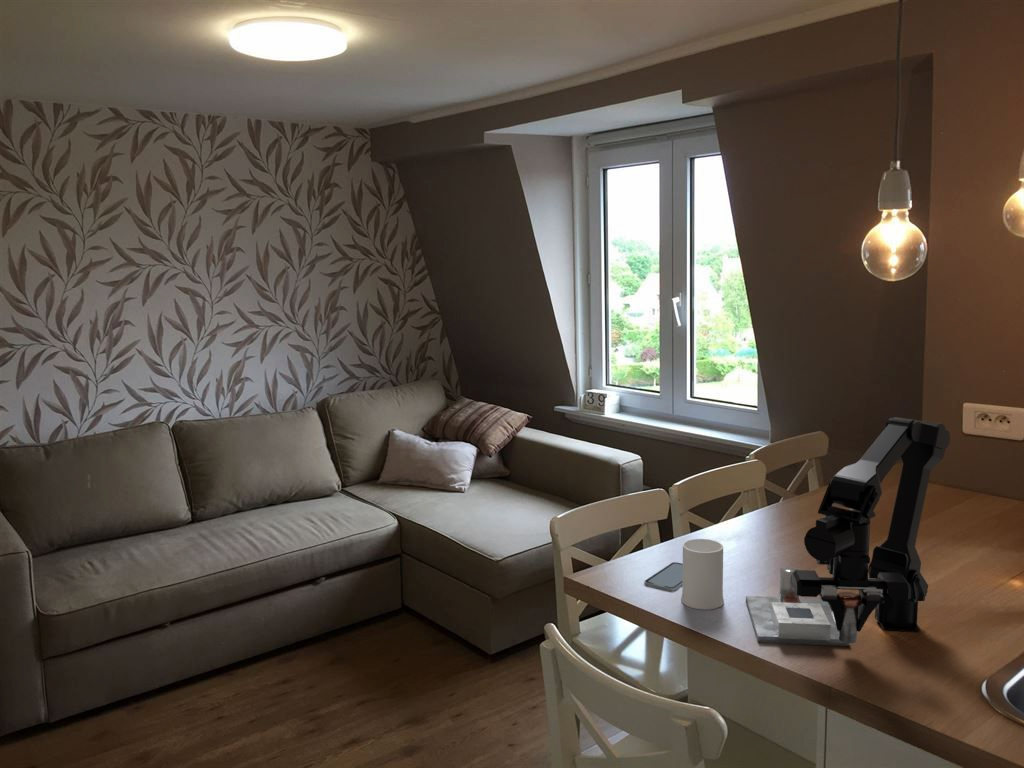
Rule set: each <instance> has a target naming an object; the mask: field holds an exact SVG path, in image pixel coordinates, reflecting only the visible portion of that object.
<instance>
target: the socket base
mask: <svg viewBox="0 0 1024 768" xmlns="http://www.w3.org/2000/svg"><path fill="white" fill-rule="evenodd" d="M779 570H780V571H779V574H780V575H779V577H780V578H779V596H759V595H758V596H755V595H753V596H752V595H746V596H745V604H746V607H747V610H748V614H749V617H750V620H751V623H752V627H753V630H754V634H755V637H756V640H758V641H757V643H761V642H765V643H766V642H767V643H768V642H769V643H768V644H786V643H788V644H789V643H791V644H792V645H813V646H814V645H816V646H817V645H818V646H819V645H820V646H840V647H842V646H843V647H849V646H850V643H845V642H842V641H840V640H839V631H837V629H836V626H835V622H834V619H833V616H832V613H831V609H830V606H829V604H828V602H825V601H822V599H821V597H820V598H818V597H800V596H798V595H797V594H796V592H795V590H794V587H793V585H792V574H793V572H794V571H795V570H800V569H799V568H797V567H794V566H782V567H781V568H780V569H779Z"/></svg>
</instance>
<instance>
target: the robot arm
mask: <svg viewBox="0 0 1024 768" xmlns="http://www.w3.org/2000/svg"><path fill="white" fill-rule="evenodd" d="M950 442H951V433H950V431H949V430H947V429H946V427H945V425H944V424H943V423H939V422H931V421H926V420H925V421H924V420H917V419H912V418H910V419H909V418H903V417H897V416H896V417H895V416H894V417H891V418H889V419H887V421H886V423H885V428H884V429H883V430H882V431H881V433H880V434H879V435H878V436H877V438H876V439H875V440H874V442H873V443H872V444H870V447H868V449H867V450H866V451H865V453H863V455H862V456H861V458H860V459H859V460H858V461H857V462H856V463H852V464H849V465H846V466H844V467H843V468H842V469H840V470H839V471H838V472H837V473H835V475H833V477H832V479H831V480H830V481H829V483H828V484H827V485H828V486H827V488H826V491H825V493H824V495H823V498H822V501H821V503H820V505H819V508H818V509H817V514H818V515H820V516H821V515H822V516H825V517H823V518H821V517H820V518H818V519H816V520H815V526H812V527H811V528H809V529H808V530H807V532H805V535H804V539H803V542H804V546H805V547H804V548H805V550H806V552H807V553H808V554H809V555H810V556H811V557H812V558H813V559H815V560H816V564H817V565H823V566H824V565H826V570H828V573H829V575H832V577H825V576H824V577H822V576H820V577H819V575H818V573H817V571H816V570H815V569H814V570H812V569H811V570H809V569H808V570H807V569H805V570H804V569H799V570H795V571H794V572H793V574H792V585H793V587H794V590H795V592H796V594H797V595H798V596H799V597H800V598H818V596H819V597H820V598H821V599H822V601H825V602H828V604H829V606H830V609H831V613H832V616H833V619H834V622H835V626H836V629H837V631H840V627H841V610H840V598H839V597H838V595H837V594H838V590H848V591H849V590H854V591H858V595H860V596H861V597H862V603H861V605H860V606H858V626H857V633H860V632H861V630H862V629H863V627H864V625H865V624H866V622H867V620H868V618H869V617H870V615H872V612H874V618H875V619H876V621H877V622H878V623H879V625H880V626H881V627H882V629H883V630H884V631H903V632H919V631H921V628H920V626H919V625H918V611H919V602H924V601H926V597H927V594H928V591H929V584H928V583H927V580H926V579H925V577H924V576H923V575H922V574H921V567H922V560H921V558H920V556H919V552H918V550H917V548H916V542H917V539H918V538H917V537H918V532H919V528H920V524H921V518H922V514H923V510H924V505H925V504H924V503H925V499H926V495H927V489H928V485H929V480H930V476H931V475H930V474H931V471H932V470H933V469H934V468H936V466H937V465H938V464H939V463H940V462H941V461H942V460H944V456H945V453H946V450H947V448H948V447H949V445H950ZM899 459H900V461H901V463H902V467H901V472H900V476H899V481H898V486H897V491H896V495H895V501H894V505H893V508H892V509H893V511H892V514H891V519H890V525H889V528H888V532H887V533H888V534H887V538H886V540H885V541H884V542H883V543H881V544H880V545H879V546H878V545H876V546H875V547H874V548H873V550H872V556H871V557H870V539H871V538H870V537H871V536H870V535H871V519H873V518H875V517H876V516H877V515H876V512H875V511H874V510H875V509H876V507H877V505H878V503H879V501H880V498H881V496H882V495H883V489H882V482H883V480H884V479H885V477H886V476H887V475H888V474H889V472H891V470H892V469H893V467H894V466H895V464H897V462H898V461H899ZM833 504H834V505H835V506H834V505H833ZM837 506H839V507H837ZM841 507H844V508H841ZM845 508H847V509H845Z"/></svg>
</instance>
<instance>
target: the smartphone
mask: <svg viewBox="0 0 1024 768" xmlns="http://www.w3.org/2000/svg"><path fill="white" fill-rule="evenodd" d="M643 582H644V585H645V586H647V587H649V588H655V589H659V590H663V591H665V592H676V591H677V590H679V589H680V588H681V587H682V585H683V562H678V561H677V562H676V561H674V562H671V563H669V564H668V565H666V566H665V567H663V568H662V569H660V570H659V571H657V572H656V573H653V574H652V575H651V576H650V577H648V578H647V579H645V580H644V581H643Z"/></svg>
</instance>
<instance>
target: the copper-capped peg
mask: <svg viewBox="0 0 1024 768" xmlns="http://www.w3.org/2000/svg"><path fill="white" fill-rule="evenodd" d="M837 595H838V597H839V598H840V610H841V627H840V631H839V640H840V641H842V642H845V643H849V644H855V643H857V641H858V631H857V626H858V606H860V605H861V603H862V597H861V596H860V595H859V593H856V592H851V591H841V592H839V593H838V592H837Z"/></svg>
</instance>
